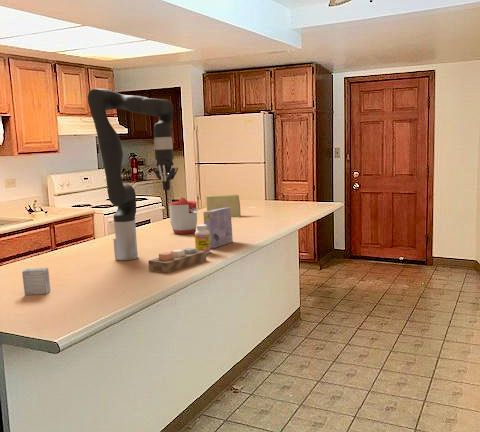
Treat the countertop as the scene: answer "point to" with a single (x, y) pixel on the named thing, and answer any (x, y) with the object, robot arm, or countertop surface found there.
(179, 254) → the cream cube
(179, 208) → the citrus juicer
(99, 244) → the countertop surface
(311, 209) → the countertop surface
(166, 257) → the pink cube
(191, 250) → the slate key
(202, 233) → the supplement bottle
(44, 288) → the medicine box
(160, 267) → the key panel
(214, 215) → the cake pan box
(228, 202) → the cheese
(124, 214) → the robot arm
